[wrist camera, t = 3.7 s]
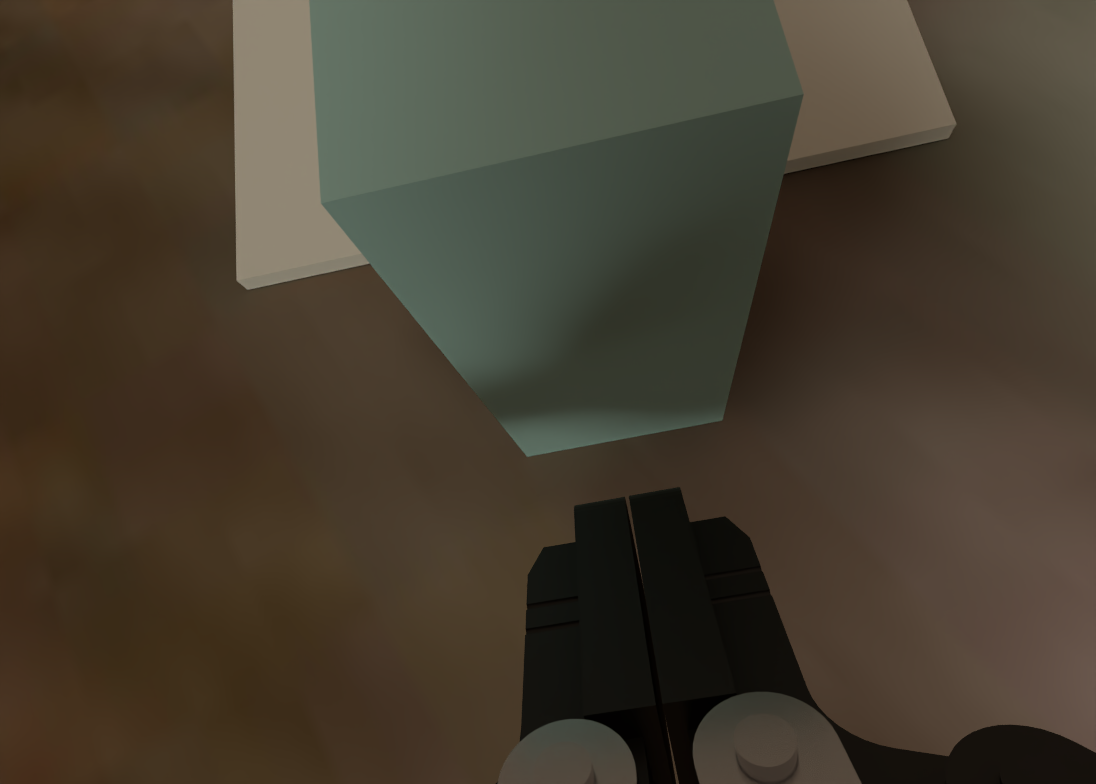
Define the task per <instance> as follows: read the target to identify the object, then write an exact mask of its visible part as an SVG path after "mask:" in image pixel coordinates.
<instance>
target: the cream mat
mask: <svg viewBox="0 0 1096 784" xmlns="http://www.w3.org/2000/svg"><path fill="white" fill-rule="evenodd" d="M774 4H775V7H776V10H777V13H778V16H779V19H780V22H781V25H782V28H783V31H784V35H785V38H786V41H787V44H788V47H789V50H790V53H791V56H792V59H793V62H794V65H795V69H796V72H797V75H798V78H799V81H800V84H801V87H802V90H803V93H804V95H803V99H802V103H801V107H800V111H799V115H798V119H797V123H796V127H795V131H794V135H793V139H792V143H791V147H790V151H789V155H788V159H787V163H786V167H785V171H784V174H786V173H790V172H795V171H800V170H804V169H809V168H813V167H818V166H823V165H827V164H832V163H837V162H841V161H846V160H850V159H855V158H860V157H864V156H869V155H874V154H878V153H883V152H887V151H892V150H897V149H901V148H906V147H911V146H915V145H920V144H924V143H929V142H934V141H938V140H943V139H948V138H949V136H950V135H951V133H952V131H953V129H954V128H955V126H956V121H955V119H954V116H953V114H952V111H951V109H950V106H949V104H948V101H947V99H946V96H945V94H944V91H943V89H942V86H941V84H940V81H939V79H938V76H937V74H936V71H935V69H934V66H933V64H932V61H931V59H930V56H929V54H928V51H927V49H926V46H925V44H924V41H923V39H922V36H921V34H920V31H919V29H918V26H917V24H916V21H915V19H914V16H913V14H912V11H911V9H910V6H909V4H908V1H907V0H774ZM233 46H234V120H235V194H236V268H237V281H238V282H239V283H240V284H241V285H243V286H244V287H245V288H246V289H247V290H249V289H254V288H258V287H263V286H268V285H272V284H277V283H281V282H286V281H291V280H295V279H300V278H305V277H309V276H314V275H318V274H323V273H328V272H332V271H337V270H342V269H346V268H351V267H355V266H360V265H365V264H369V262H368V261H367V259H366V258H365V257H364V256H363V254H362V253H361V252H360V251H359V250H358V248H357V247H356V246H355V245H354V243H353V242H352V241H351V240H350V239H349V237H348V236H347V235H346V234H345V232H344V231H343V230H342V229H341V227H340V226H339V225H338V224H337V223H336V221H335V220H334V219H333V218H332V216H331V215H330V214H329V213H328V211H327V210H326V209H325V208H324V207H323V205H322V204H321V197H320V180H319V162H318V145H317V128H316V110H315V93H314V75H313V58H312V41H311V23H310V6H309V0H233Z"/></svg>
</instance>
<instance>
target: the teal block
mask: <svg viewBox="0 0 1096 784" xmlns="http://www.w3.org/2000/svg"><path fill="white" fill-rule="evenodd" d="M309 6H310V23H311V41H312V58H313V75H314V93H315V110H316V128H317V145H318V162H319V180H320V197H321V204H322V205H323V207H324V208H325V209H326V210H327V211H328V213H329V214H330V215H331V216H332V218H333V219H334V220H335V221H336V223H337V224H338V225H339V226H340V227H341V229H342V230H343V231H344V232H345V234H346V235H347V236H348V237H349V239H350V240H351V241H352V242H353V243H354V245H355V246H356V247H357V248H358V250H359V251H360V252H361V253H362V254H363V256H364V257H365V258H366V259H367V261H368V262H369V263H370V264H371V266H372V267H373V268H374V269H375V270H376V272H377V273H378V274H379V275H380V277H381V278H382V279H383V280H384V281H385V283H386V284H387V285H388V286H389V288H390V289H391V290H392V291H393V293H394V294H395V295H396V296H397V297H398V299H399V300H400V301H401V302H402V304H403V305H404V306H405V307H406V308H407V310H408V311H409V312H410V313H411V315H412V316H413V317H414V318H415V320H416V321H417V322H418V323H419V324H420V326H421V327H422V328H423V329H424V331H425V332H426V333H427V334H428V335H429V337H430V338H431V339H432V340H433V342H434V343H435V344H436V345H437V347H438V348H439V349H440V350H441V351H442V353H443V354H444V355H445V356H446V358H447V359H448V360H449V361H450V362H451V364H452V365H453V366H454V367H455V369H456V370H457V371H458V372H459V374H460V375H461V376H462V377H463V378H464V380H465V381H466V382H467V383H468V385H469V386H470V387H471V388H472V389H473V391H474V392H475V393H476V394H477V396H478V397H479V398H480V399H481V401H482V402H483V403H484V404H485V405H486V407H487V408H488V409H489V410H490V412H491V413H492V414H493V415H494V416H495V418H496V419H497V420H498V421H499V423H500V424H501V425H502V426H503V428H504V429H505V430H506V431H507V432H508V434H509V435H510V436H511V437H512V439H513V440H514V441H515V442H516V443H517V445H518V446H519V447H520V448H521V450H522V451H523V452H524V453H525V455H526V456H527V457H528V456H534V455H539V454H545V453H550V452H555V451H561V450H566V449H572V448H577V447H582V446H588V445H593V444H599V443H604V442H609V441H615V440H620V439H626V438H631V437H636V436H642V435H647V434H652V433H658V432H663V431H669V430H674V429H679V428H685V427H690V426H696V425H701V424H706V423H712V422H717V421H722V420H723V416H724V412H725V408H726V404H727V400H728V396H729V392H730V388H731V384H732V380H733V376H734V372H735V368H736V364H737V360H738V356H739V352H740V348H741V344H742V340H743V336H744V332H745V328H746V324H747V320H748V316H749V312H750V308H751V304H752V300H753V296H754V292H755V288H756V284H757V280H758V276H759V272H760V268H761V264H762V260H763V256H764V252H765V248H766V244H767V240H768V236H769V232H770V227H771V223H772V219H773V215H774V211H775V207H776V203H777V199H778V195H779V191H780V187H781V183H782V179H783V175H784V171H785V167H786V163H787V159H788V155H789V151H790V147H791V143H792V139H793V135H794V131H795V127H796V123H797V119H798V115H799V111H800V107H801V103H802V99H803V95H804V93H803V90H802V87H801V84H800V81H799V78H798V75H797V72H796V69H795V65H794V62H793V59H792V56H791V53H790V50H789V47H788V44H787V41H786V38H785V35H784V31H783V28H782V25H781V22H780V19H779V16H778V13H777V10H776V7H775V4H774V0H309Z"/></svg>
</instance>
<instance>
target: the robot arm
mask: <svg viewBox="0 0 1096 784" xmlns="http://www.w3.org/2000/svg"><path fill="white" fill-rule="evenodd" d="M629 499H630V506H631V512H632V518H633V524H634V530H635V537H636V543H637V549H638V555H639V561H640V567H641V573H642V578H641V573H640V568H639V563H638V558H637V553H636V548H635V544H634V539H633V534H632V529H631V524H630V519H629V514H628V509H627V505H626V500H625V497H621V498H616V499H610V500H604V501H599V502H593V503H587V504H582V505H576V506H574V518H575V540H576V542H574V543H568V544H562V545H556V546H550V547H544V548H543V549H542V551H541V553H540V555H539V556H538V558H537V560H536V562H535V563H534V565H533V567H532V569H531V570H530V572H529V574H528V584H527V610H526V635H525V654H524V678H523V701H522V724H521V736H520V742H519V743H518V744H517V745H516V747H515V748H514V749H513V750H512V751H511V753H510V754H509V756H508V757H507V759H506V761H505V762H504V765H503V767H502V770H501V772H500V775H499V780H498V782H497V783H496V784H676V780H675V774H674V768H673V762H672V756H671V750H670V743H669V737H670V742H671V746H672V751H673V756H674V761H675V766H676V770H677V775H678V780H679V784H1096V753H1095V752H1093V751H1091V750H1089V749H1087V748H1085V747H1083V746H1082V745H1080V744H1078V743H1076V742H1074V741H1071V740H1069V739H1067V738H1065V737H1063V736H1061V735H1058V734H1055V733H1052V732H1049V731H1046V730H1043V729H1038V728H1033V727H1029V726H1020V725H997V726H991V727H986V728H983V729H980V730H977V731H974V732H972V733H971V734H969V735H967V736H966V737H964V738H963V739H962V740H961V741H960V742H959V743H957V744H956V745H955V747H954V748H953V750H952V752H951V753H950V755H949V757H948V756H942V755H935V754H929V753H922V752H916V751H909V750H902V749H896V748H891V747H886V746H882V745H878V744H875V743H872V742H869V741H866V740H864V739H861V738H859V737H857V736H855V735H853V734H851V733H849V732H848V731H846V730H844V729H843V728H841V727H840V726H838V725H837V724H836V723H834V722H833V721H832V720H831V719H830V718H828V717H827V716H826V715H825V714H824V713H823V711H822V710H821V709H820V708H819V707H818V706H817V704H816V703H815V701H814V700H813V699H812V697H811V695H810V693H809V691H808V688H807V686H806V683H805V681H804V678H803V676H802V673H801V670H800V668H799V665H798V663H797V660H796V657H795V655H794V652H793V649H792V647H791V644H790V642H789V639H788V636H787V634H786V631H785V629H784V626H783V623H782V621H781V618H780V615H779V613H778V610H777V608H776V605H775V602H774V600H773V597H772V596H771V594H770V589H769V587H768V584H767V582H766V579H765V576H764V574H763V572H762V571H761V566H760V563H759V561H758V558H757V555H756V553H755V550H754V548H753V545H752V542H751V540H750V538H749V537H748V536H747V535H746V534H745V533H744V532H743V531H741V530H740V529H739V528H738V527H737V526H736V525H735V524H733V523H732V522H731V521H730V520H729V519H728V518H726V517H719V518H713V519H707V520H701V521H696V522H689V518H688V515H687V511H686V507H685V504H684V500H683V496H682V493H681V489H680V487H677V488H672V489H666V490H660V491H655V492H649V493H643V494H637V495H632V496H629ZM642 580H643V583H642ZM643 586H644V588H643ZM644 592H645V593H644ZM645 598H646V599H645ZM665 718H666V719H665ZM666 722H667V725H666ZM667 727H668V731H667ZM668 732H669V737H668Z"/></svg>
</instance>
